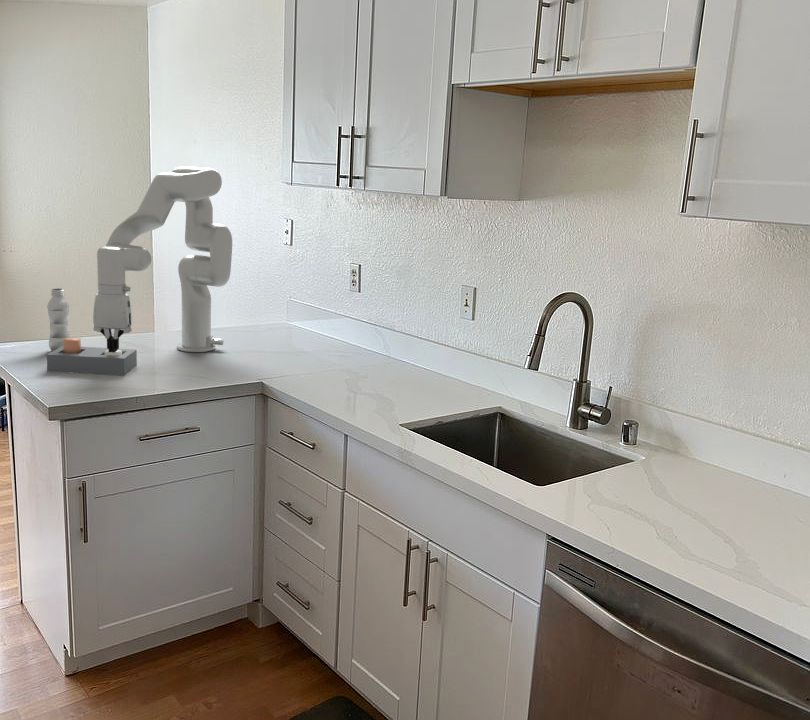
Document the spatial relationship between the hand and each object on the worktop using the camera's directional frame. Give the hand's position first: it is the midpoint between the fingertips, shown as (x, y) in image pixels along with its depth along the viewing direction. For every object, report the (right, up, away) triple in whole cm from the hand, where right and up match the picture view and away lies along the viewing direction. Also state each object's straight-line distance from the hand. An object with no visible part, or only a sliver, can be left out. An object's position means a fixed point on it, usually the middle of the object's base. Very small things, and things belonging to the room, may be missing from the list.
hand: (113, 351), depth 234 cm
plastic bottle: (-24, 0, +19) cm, 30 cm away
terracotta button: (-12, -1, 0) cm, 12 cm away
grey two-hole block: (-6, -5, +1) cm, 8 cm away
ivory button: (0, -5, +1) cm, 5 cm away
